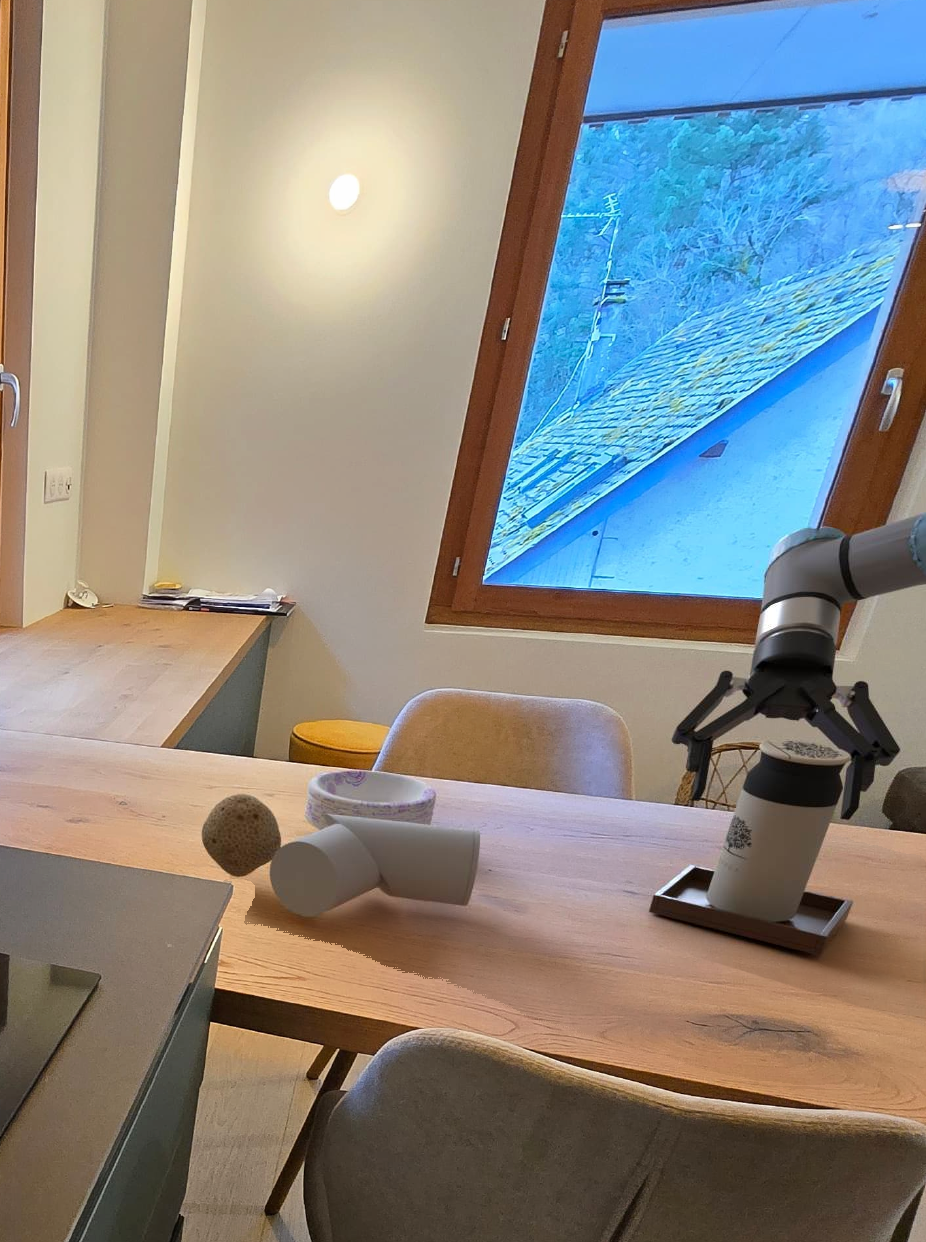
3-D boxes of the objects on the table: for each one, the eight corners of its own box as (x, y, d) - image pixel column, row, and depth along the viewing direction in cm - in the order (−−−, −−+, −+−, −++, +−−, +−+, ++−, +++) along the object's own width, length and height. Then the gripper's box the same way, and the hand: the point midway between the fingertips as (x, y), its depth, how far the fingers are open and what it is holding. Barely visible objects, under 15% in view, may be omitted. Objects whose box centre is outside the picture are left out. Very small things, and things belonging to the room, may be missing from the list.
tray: (846, 918, 113) (853, 901, 113) (820, 955, 104) (827, 936, 104) (685, 881, 124) (690, 864, 123) (648, 912, 115) (653, 894, 114)
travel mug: (782, 899, 116) (840, 742, 108) (804, 929, 109) (867, 764, 101) (698, 889, 118) (748, 735, 111) (714, 917, 112) (769, 756, 104)
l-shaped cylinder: (350, 841, 129) (250, 885, 117) (381, 766, 122) (279, 804, 111) (482, 916, 118) (386, 972, 107) (523, 838, 112) (426, 888, 101)
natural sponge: (180, 868, 126) (187, 791, 122) (234, 853, 131) (242, 777, 126) (234, 895, 119) (244, 813, 115) (289, 878, 123) (300, 799, 119)
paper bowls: (337, 814, 145) (346, 759, 142) (446, 843, 135) (458, 784, 131) (278, 843, 136) (286, 785, 132) (390, 876, 126) (401, 814, 122)
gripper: (918, 677, 119) (902, 838, 112) (660, 658, 130) (632, 803, 124) (949, 635, 112) (933, 803, 106) (675, 619, 124) (646, 770, 118)
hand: (771, 804), depth 115 cm, fingers open, 13 cm apart
